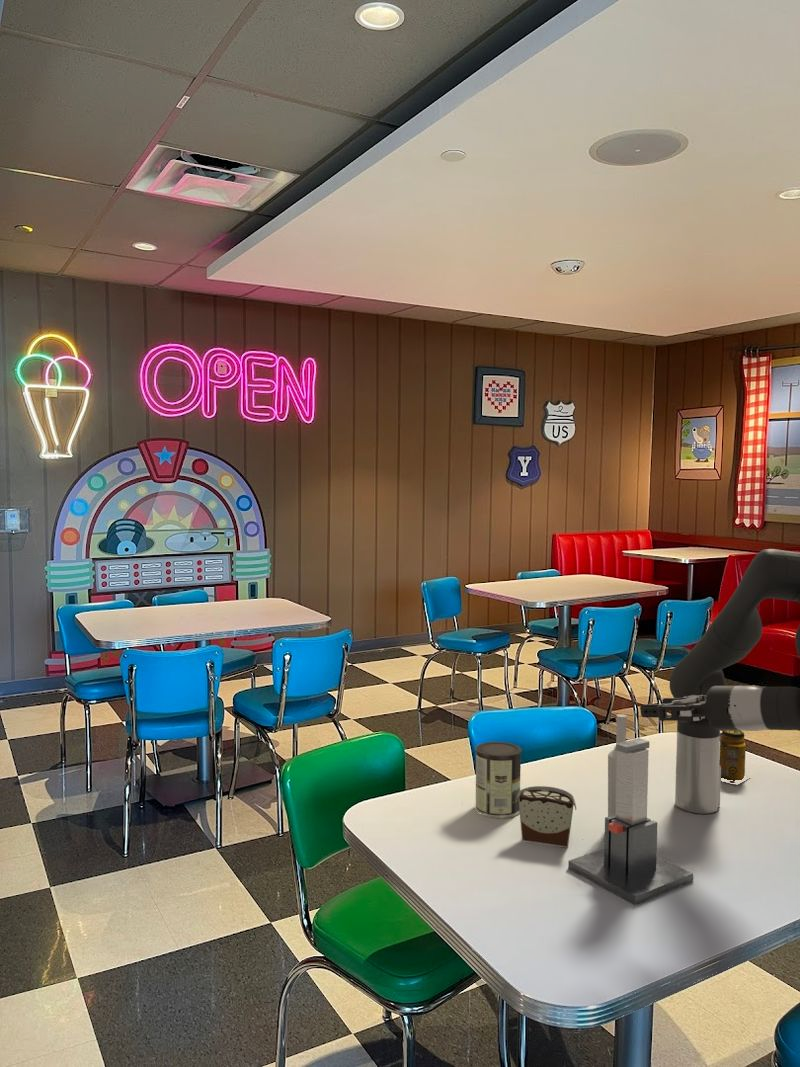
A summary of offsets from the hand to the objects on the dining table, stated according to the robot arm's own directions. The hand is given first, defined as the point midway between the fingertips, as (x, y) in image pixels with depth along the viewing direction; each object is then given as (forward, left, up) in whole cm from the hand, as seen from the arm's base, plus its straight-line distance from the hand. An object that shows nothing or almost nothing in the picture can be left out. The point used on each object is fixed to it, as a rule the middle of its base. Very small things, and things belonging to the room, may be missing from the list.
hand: (652, 707), depth 146 cm
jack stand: (+2, -3, -32) cm, 32 cm away
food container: (+4, -23, -32) cm, 40 cm away
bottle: (-11, -17, -32) cm, 38 cm away
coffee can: (+3, -40, -32) cm, 51 cm away
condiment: (-60, -24, -33) cm, 72 cm away
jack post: (+2, -3, -30) cm, 30 cm away
